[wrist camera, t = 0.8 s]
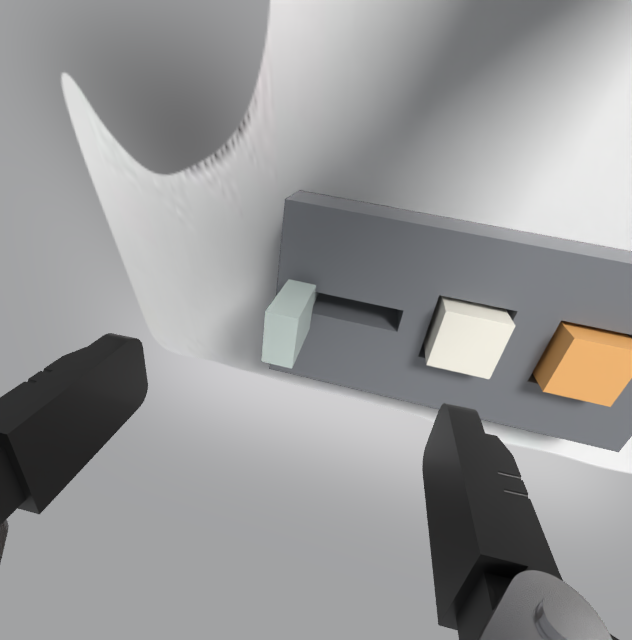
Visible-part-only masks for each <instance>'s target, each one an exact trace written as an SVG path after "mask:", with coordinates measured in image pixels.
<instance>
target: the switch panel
mask: <svg viewBox="0 0 632 640" xmlns="http://www.w3.org/2000/svg"><path fill="white" fill-rule="evenodd" d="M288 279H290V280H295V281H300V282H305V283H309V284H314V285H316V289H315V292H319V294H318V296H317V298H316V300H315V303H314V305H313V309H312V316H311V322H310V329H309V331H308V333H307V336H306V338H305V340H304V342H303V345H302V347H301V349H300V351H299V354H298V356H297V358H296V361H295V363H294V365H293V367H292V369H291V368H287V367H282V366H278V365H274V364H270V367H269V369H274V370H278V371H282V372H286V373H290V374H294V375H299V376H303V377H307V378H311V379H315V380H320V381H324V382H328V383H332V384H336V385H340V386H345V387H349V388H353V389H357V390H361V391H365V392H370V393H374V394H378V395H382V396H386V397H390V398H395V399H399V400H403V401H407V402H411V403H415V404H420V405H424V406H428V407H432V408H436V409H440V407H441V405H442V404H443V403H446V404H451V405H456V406H461V407H466V408H470V409H475V410H476V411H477V412H478V414H479V417H480V419H482V420H486V421H490V422H495V423H499V424H503V425H507V426H511V427H515V428H520V429H524V430H528V431H532V432H536V433H541V434H545V435H549V436H553V437H557V438H561V439H566V440H570V441H574V442H578V443H582V444H586V445H591V446H595V447H599V448H603V449H607V450H611V451H616V452H619V451H620V450H621V448H622V447H623V446H624V445H625V444H626V442H627V441H628V440H629V439H630V437H631V436H632V378H631V380H630V381H629V382H628V384H627V385H626V387H625V388H624V389H623V391H622V392H621V393H620V395H619V396H618V397H617V399H616V400H615V402H614V403H613V404H612V406H611V407H608V406H604V405H600V404H595V403H591V402H586V401H582V400H578V399H573V398H569V397H564V396H560V395H556V394H551V393H547V392H543V391H542V389H541V387H540V386H539V384H538V382H537V380H536V379H535V377H534V375H533V373H532V372H533V370H534V369H535V367H536V365H537V363H538V361H539V360H540V358H541V356H542V354H543V352H544V351H545V349H546V347H547V345H548V343H549V342H550V340H551V338H552V336H553V334H554V333H555V331H556V329H557V327H558V325H559V323H560V322H561V320H562V321H567V322H572V323H577V324H582V325H586V326H591V327H596V328H601V329H606V330H611V331H615V332H620V333H625V334H627V335H628V336H629V337H631V338H632V251H627V250H622V249H616V248H611V247H605V246H600V245H594V244H589V243H583V242H578V241H572V240H567V239H562V238H556V237H551V236H545V235H540V234H534V233H529V232H523V231H518V230H513V229H507V228H502V227H496V226H491V225H485V224H480V223H474V222H469V221H463V220H458V219H453V218H447V217H442V216H436V215H431V214H425V213H420V212H414V211H409V210H404V209H398V208H393V207H387V206H382V205H376V204H371V203H365V202H360V201H354V200H349V199H344V198H338V197H333V196H327V195H322V194H316V193H311V192H305V191H300V190H299V191H298V192H296V193H294V194H293V195H291V196H289V197H288V198H286V199H285V207H284V218H283V228H282V239H281V250H280V260H279V271H278V281H277V292H276V296H277V294H278V293H279V292H280V290H281V289H282V288H283V286H284V285H285V284H286V282H287V281H288ZM439 295H441V296H446V297H451V298H456V299H461V300H465V301H470V302H475V303H480V304H485V305H490V306H494V307H499V308H504V309H505V310H506V311H507V313H508V314H509V316H510V318H511V319H512V321H513V322H514V324H515V328H514V330H513V332H512V334H511V336H510V338H509V340H508V342H507V344H506V346H505V349H504V351H503V353H502V355H501V357H500V359H499V361H498V363H497V365H496V367H495V369H494V371H493V373H492V375H491V377H490V379H485V378H481V377H477V376H472V375H468V374H463V373H459V372H455V371H450V370H446V369H442V368H437V367H433V366H428V365H426V358H425V351H424V343H423V341H424V338H425V335H426V332H427V329H428V326H429V324H430V321H431V318H432V315H433V312H434V309H435V306H436V303H437V300H438V297H439Z"/></svg>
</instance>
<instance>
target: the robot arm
mask: <svg viewBox="0 0 632 640" xmlns="http://www.w3.org/2000/svg"><path fill="white" fill-rule="evenodd" d="M147 389H148V383H147V375H146V368H145V360H144V354H143V346H142V343H141V342H140V340H139V339H136V338H132V337H126V336H122V335H116V334H112V333H109V334H106V335H104V336H102V337H101V338H99V339H98V340H97V341H95V342H94V343H92V344H91V345H89V346H88V347H85V348H82V349H80V350H78V351H75V352H72V353H70V354H67V355H65V356H62V357H61V358H59V359H58V360H56V361H55V362H53V363H52V364H50V365H49V366H47V367H46V368H44V371H43V372H42V371H40V372H38V373H37V374H35V375H34V376H32V377H31V378H29V379H28V382H23V383H22V384H20V385H19V386H17V387H16V388H14V389H12V390H11V391H10V392H8V393H6V394H5V395H4V396H2V397H1V398H0V562H1V558H2V554H3V550H4V546H5V541H6V537H7V533H8V521H7V518H8V517H9V516H10V515H11V514H12V513H13V512H14V511H15V510H16V509H17V508H18V509H23V510H26V511H30V512H34V513H37V514H40V513H41V512H42V511H43V510H44V509H45V508H46V507H47V506H48V505H49V504H50V503H51V501H52V500H53V499H54V498H55V497H56V496H57V495H58V494H59V493H60V492H61V491H62V490H63V489H64V488H65V487H66V485H67V484H68V483H69V482H70V481H71V480H72V479H73V478H74V477H75V476H76V474H77V473H78V472H79V471H80V470H81V469H82V468H83V467H84V466H85V465H86V464H87V463H88V462H89V460H90V459H92V458H93V456H94V455H95V454H96V453H97V452H98V451H99V450H100V449H101V448H102V447H103V446H104V444H106V442H107V441H108V440H109V439H110V438H111V437H112V436H113V435H114V434H115V433H116V432H117V431H118V430H119V429H120V427H121V426H122V425H123V424H124V423H125V422H126V421H127V420H128V419H129V418H130V417H131V416H132V415H133V414H134V412H135V411H136V410H137V409H138V408H139V407H140V406H141V404H142V403H143V401H144V399H145V397H146V393H147ZM423 480H424V489H425V498H426V509H427V518H428V528H429V538H430V547H431V557H432V567H433V576H434V585H435V596H436V605H437V614H438V624H439V625H440V626H444V627H448V628H452V629H455V630H458V635H459V640H618V639H617V638H615V637H614V636H612V635H611V634H610V633H609V632H608V630H607V628H606V626H605V624H604V623H603V621H602V620H601V618H600V617H599V615H598V614H597V612H596V611H595V610H594V609H593V607H591V605H590V604H589V603H588V602H587V601H586V600H585V599H584V598H583V597H582V596H581V595H580V594H579V593H578V592H577V591H576V590H574V589H573V588H572V587H571V586H569V585H568V584H567V583H565V582H563V580H562V578H561V575H560V573H559V571H558V568H557V566H556V563H555V561H554V558H553V555H552V553H551V551H550V548H549V546H548V543H547V540H546V538H545V536H544V533H543V531H542V528H541V525H540V523H539V520H538V518H537V515H536V513H535V510H534V508H533V505H532V503H531V500H530V499H528V493H527V490H526V487H525V485H524V482H523V480H521V475H520V472H519V470H518V467H517V465H516V462H515V459H514V457H513V455H512V454H511V453H510V451H509V450H508V449H507V448H506V447H505V445H504V444H503V443H502V442H501V440H500V439H499V438H498V437H497V436H494V435H490V434H485V432H484V429H483V426H482V423H481V420H480V417H479V414H478V412H477V411H476V410H475V409H470V408H466V407H461V406H456V405H451V404H446V403H443V404H442V405H441V407H440V409H439V412H438V414H437V417H436V420H435V423H434V425H433V428H432V431H431V433H430V436H429V439H428V442H427V444H426V447H425V451H424V456H423Z"/></svg>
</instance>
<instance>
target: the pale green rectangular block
mask: <svg viewBox="0 0 632 640" xmlns="http://www.w3.org/2000/svg"><path fill="white" fill-rule="evenodd" d="M315 289H316V285H314V284H309V283H305V282H300V281H295V280H290V279H288V281H287V282H286V284H285V285H284V286H283V288H282V289H281V290H280V292H279V293H278V294H277V296H276V297H275V299H274V300H273V301H272V303H271V304H270V305H269V307H268V308H267V310H266V311H265V320H264V333H263V346H262V358H261V362H266V363H270V364H274V365H278V366H282V367H287V368H291V369H292V367H293V365H294V363H295V361H296V358H297V356H298V354H299V351H300V349H301V347H302V345H303V342H304V340H305V338H306V336H307V333H308V331H309V329H310V322H311V316H312V309H313V305H314V303H315V300H316V298H317V296H318V294H319V292H315Z"/></svg>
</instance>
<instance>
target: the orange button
mask: <svg viewBox="0 0 632 640" xmlns="http://www.w3.org/2000/svg"><path fill="white" fill-rule="evenodd" d="M532 373H533V375H534V377H535V379H536V380H537V382H538V384H539V386H540V387H541V389H542V391H543V392H547V393H551V394H556V395H560V396H564V397H569V398H573V399H578V400H582V401H586V402H591V403H595V404H600V405H604V406H608V407H611V406H612V404H613V403H614V402H615V400H616V399H617V397H618V396H619V395H620V393H621V392H622V391H623V389H624V388H625V387H626V385H627V384H628V382H629V381H630V380H631V378H632V338H631V337H629V336H628V335H627V334H625V333H620V332H615V331H611V330H606V329H601V328H596V327H591V326H586V325H582V324H577V323H572V322H567V321H562V320H561V322H560V323H559V325H558V327H557V329H556V331H555V333H554V334H553V336H552V338H551V340H550V342H549V343H548V345H547V347H546V349H545V351H544V352H543V354H542V356H541V358H540V360H539V361H538V363H537V365H536V367H535V369H534V370H533V372H532Z"/></svg>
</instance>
